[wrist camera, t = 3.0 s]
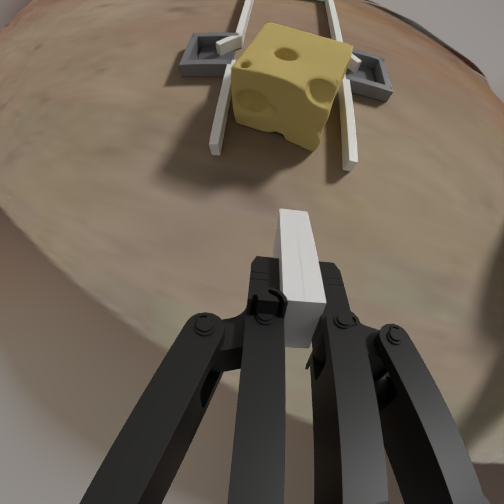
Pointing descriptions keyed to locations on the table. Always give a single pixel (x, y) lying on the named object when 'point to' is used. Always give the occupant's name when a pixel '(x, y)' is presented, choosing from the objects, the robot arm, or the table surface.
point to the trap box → (221, 60)
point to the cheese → (288, 83)
